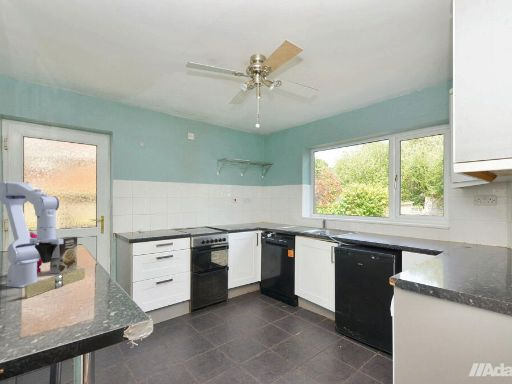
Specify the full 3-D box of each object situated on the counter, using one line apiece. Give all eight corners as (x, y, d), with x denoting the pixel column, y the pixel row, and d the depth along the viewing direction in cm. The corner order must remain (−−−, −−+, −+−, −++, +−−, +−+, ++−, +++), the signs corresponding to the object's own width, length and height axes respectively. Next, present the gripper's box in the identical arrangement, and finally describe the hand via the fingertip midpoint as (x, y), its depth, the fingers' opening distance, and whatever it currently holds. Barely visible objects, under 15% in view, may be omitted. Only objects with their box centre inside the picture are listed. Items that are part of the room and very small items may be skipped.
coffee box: (60, 274, 121) (61, 239, 122) (49, 273, 122) (49, 239, 123) (77, 268, 130) (78, 236, 130) (67, 268, 131) (67, 236, 132)
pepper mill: (29, 271, 127) (30, 230, 127) (45, 270, 127) (45, 229, 128) (17, 275, 119) (18, 232, 120) (34, 275, 120) (34, 231, 121)
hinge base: (51, 288, 102) (51, 276, 102) (81, 278, 114) (81, 267, 115) (56, 288, 101) (57, 277, 101) (86, 278, 114) (86, 268, 114)
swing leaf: (23, 297, 92) (23, 285, 92) (58, 285, 104) (58, 274, 105) (28, 298, 91) (29, 285, 91) (63, 285, 104) (63, 275, 104)
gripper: (20, 228, 99) (20, 264, 99) (50, 228, 95) (50, 266, 95) (40, 226, 106) (40, 259, 105) (68, 226, 102) (68, 261, 102)
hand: (46, 262), depth 101 cm, fingers closed
